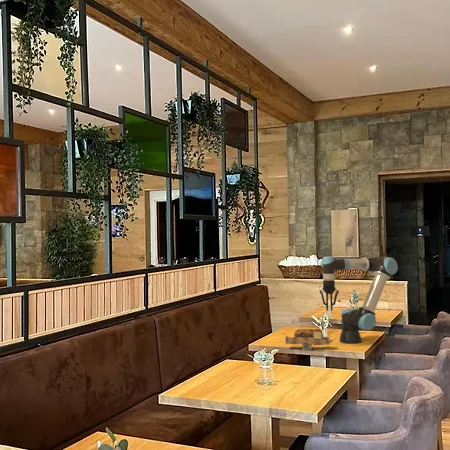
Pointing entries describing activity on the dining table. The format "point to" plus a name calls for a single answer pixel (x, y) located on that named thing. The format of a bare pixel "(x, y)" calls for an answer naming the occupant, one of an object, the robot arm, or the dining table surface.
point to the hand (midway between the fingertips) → (329, 315)
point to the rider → (317, 335)
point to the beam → (306, 342)
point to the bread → (307, 333)
